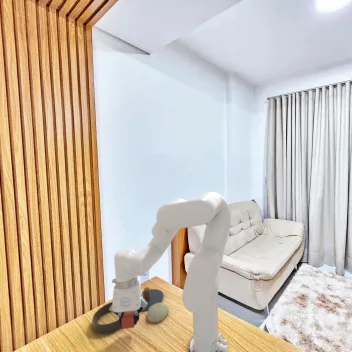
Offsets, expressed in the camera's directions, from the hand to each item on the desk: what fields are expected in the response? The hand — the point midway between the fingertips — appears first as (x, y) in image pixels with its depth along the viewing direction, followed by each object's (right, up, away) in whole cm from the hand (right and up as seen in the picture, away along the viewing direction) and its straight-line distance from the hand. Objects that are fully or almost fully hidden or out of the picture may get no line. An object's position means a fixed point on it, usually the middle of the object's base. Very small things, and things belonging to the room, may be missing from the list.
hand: (129, 322), depth 84 cm
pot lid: (-2, -3, +21) cm, 21 cm away
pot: (-12, -5, +8) cm, 15 cm away
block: (0, -1, 0) cm, 1 cm away
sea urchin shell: (+7, -5, +11) cm, 14 cm away
